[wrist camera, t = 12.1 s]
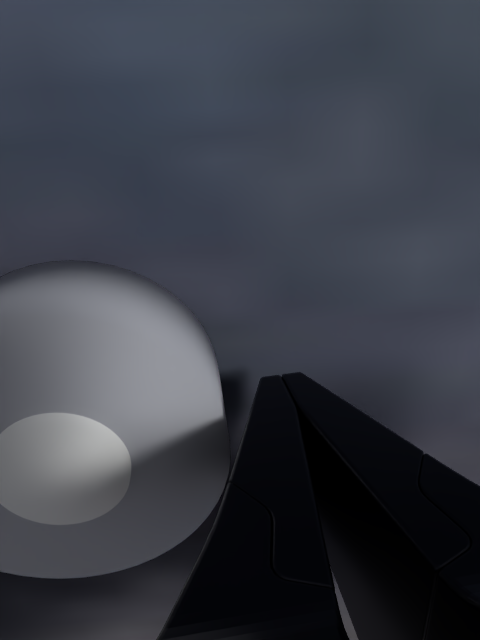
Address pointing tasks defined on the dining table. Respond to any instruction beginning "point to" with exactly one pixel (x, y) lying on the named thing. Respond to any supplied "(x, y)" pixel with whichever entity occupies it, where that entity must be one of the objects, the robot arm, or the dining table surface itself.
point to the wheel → (103, 421)
